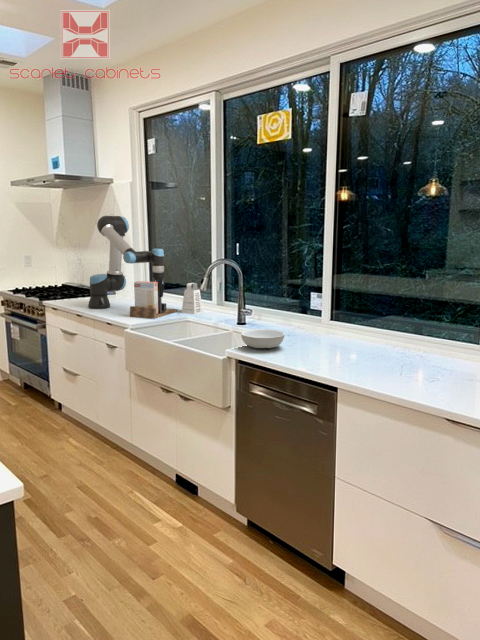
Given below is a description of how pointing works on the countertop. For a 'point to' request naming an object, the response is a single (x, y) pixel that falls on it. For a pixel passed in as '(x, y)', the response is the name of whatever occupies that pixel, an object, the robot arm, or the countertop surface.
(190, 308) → the grater
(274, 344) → the serving bowl
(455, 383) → the countertop surface
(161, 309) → the bookend
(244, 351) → the countertop surface
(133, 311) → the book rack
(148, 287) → the cracker box
